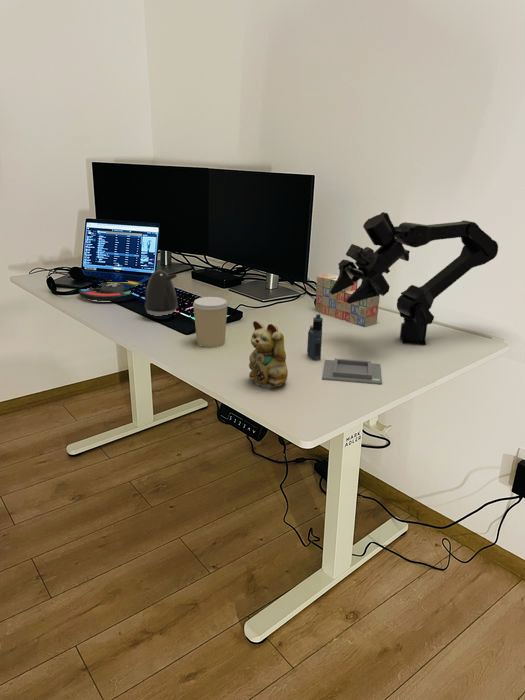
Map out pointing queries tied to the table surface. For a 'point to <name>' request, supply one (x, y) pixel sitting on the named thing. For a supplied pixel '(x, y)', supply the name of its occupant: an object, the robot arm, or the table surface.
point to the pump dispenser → (160, 294)
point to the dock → (352, 371)
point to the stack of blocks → (344, 303)
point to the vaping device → (315, 338)
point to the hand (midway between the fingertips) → (339, 297)
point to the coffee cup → (210, 321)
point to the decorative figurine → (268, 356)
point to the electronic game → (108, 291)
